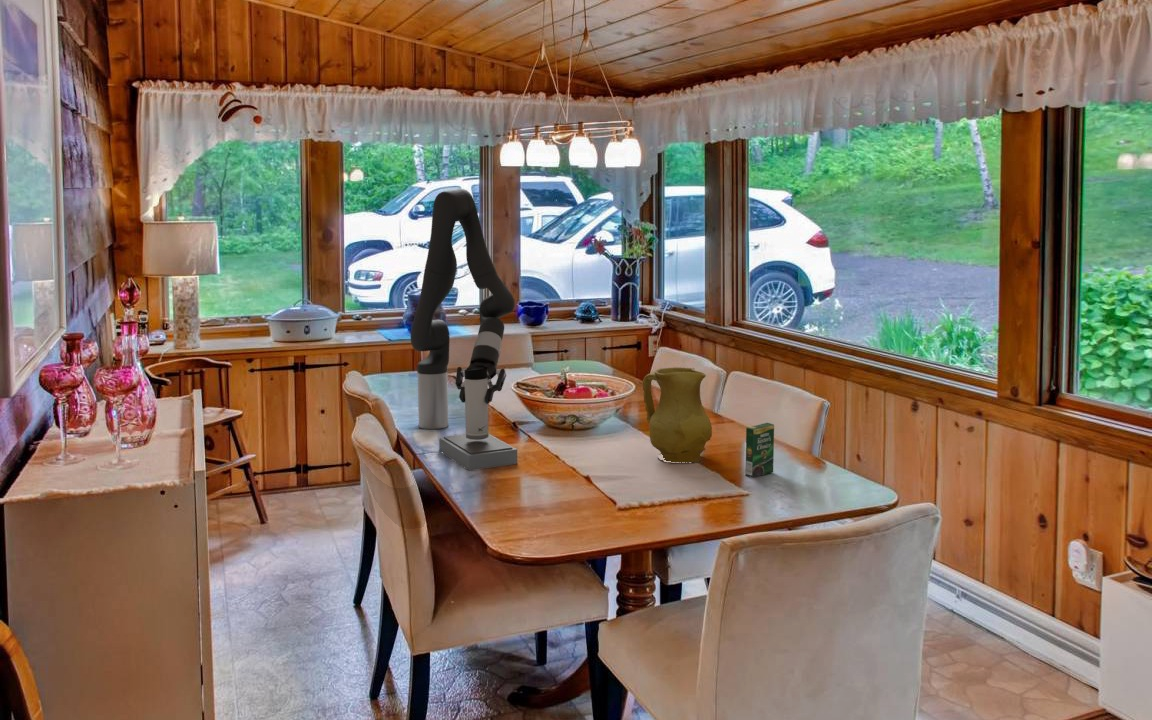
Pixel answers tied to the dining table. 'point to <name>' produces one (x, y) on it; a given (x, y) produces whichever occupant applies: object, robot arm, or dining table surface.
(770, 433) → the coffee box
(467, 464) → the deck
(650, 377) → the pitcher
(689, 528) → the dining table surface
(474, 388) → the travel mug
